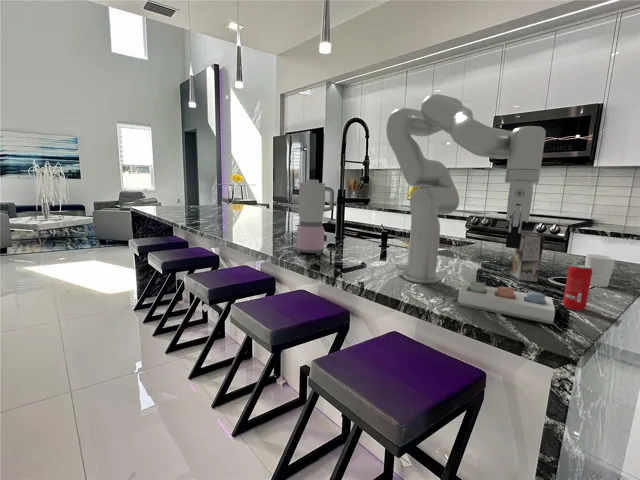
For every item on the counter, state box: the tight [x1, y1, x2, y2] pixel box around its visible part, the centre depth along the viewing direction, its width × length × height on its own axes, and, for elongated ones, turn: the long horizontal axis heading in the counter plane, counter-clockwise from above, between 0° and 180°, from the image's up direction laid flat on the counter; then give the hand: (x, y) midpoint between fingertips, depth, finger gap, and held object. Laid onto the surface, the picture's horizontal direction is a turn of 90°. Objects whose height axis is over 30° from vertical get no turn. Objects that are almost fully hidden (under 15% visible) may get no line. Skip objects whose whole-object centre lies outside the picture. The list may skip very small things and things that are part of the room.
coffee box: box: [510, 232, 545, 283], centre depth 124 cm, size 9×6×16 cm
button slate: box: [526, 291, 546, 305], centre depth 90 cm, size 4×4×3 cm
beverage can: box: [562, 263, 592, 312], centre depth 95 cm, size 5×5×12 cm
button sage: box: [469, 281, 487, 294], centre depth 97 cm, size 4×4×3 cm
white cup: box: [584, 253, 616, 288], centre depth 120 cm, size 8×8×10 cm
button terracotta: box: [497, 286, 515, 299], centre depth 93 cm, size 4×4×3 cm
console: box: [456, 282, 556, 325], centre depth 94 cm, size 22×12×3 cm, turn 60°
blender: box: [295, 178, 335, 256], centre depth 150 cm, size 16×12×32 cm
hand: (512, 247), depth 91 cm, fingers closed
